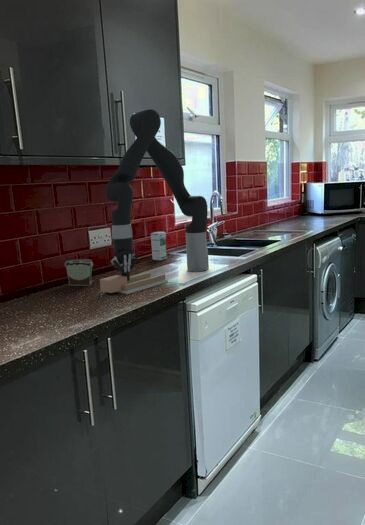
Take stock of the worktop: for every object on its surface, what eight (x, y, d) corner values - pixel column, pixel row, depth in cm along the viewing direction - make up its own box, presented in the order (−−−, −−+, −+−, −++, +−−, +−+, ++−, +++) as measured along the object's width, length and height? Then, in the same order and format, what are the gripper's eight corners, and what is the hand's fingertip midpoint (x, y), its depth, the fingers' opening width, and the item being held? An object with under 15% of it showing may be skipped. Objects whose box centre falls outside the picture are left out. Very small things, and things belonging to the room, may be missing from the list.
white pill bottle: (160, 260, 227) (159, 232, 225) (152, 259, 231) (150, 232, 228) (167, 258, 232) (166, 231, 229) (159, 258, 235) (157, 231, 233)
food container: (100, 282, 183) (98, 258, 181) (93, 285, 177) (91, 261, 175) (73, 281, 186) (71, 258, 184) (66, 285, 180) (63, 261, 178)
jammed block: (116, 286, 168) (116, 275, 167) (127, 288, 164) (126, 276, 163) (100, 291, 162) (99, 279, 161) (111, 293, 158) (110, 280, 157)
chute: (146, 279, 184) (145, 272, 184) (167, 281, 177) (167, 274, 176) (106, 290, 168) (105, 282, 167) (127, 294, 160) (127, 286, 160)
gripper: (128, 234, 171) (131, 277, 174) (102, 238, 161) (106, 284, 165) (141, 234, 167) (145, 279, 170) (115, 239, 157) (119, 286, 160)
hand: (125, 281), depth 167 cm, fingers closed
